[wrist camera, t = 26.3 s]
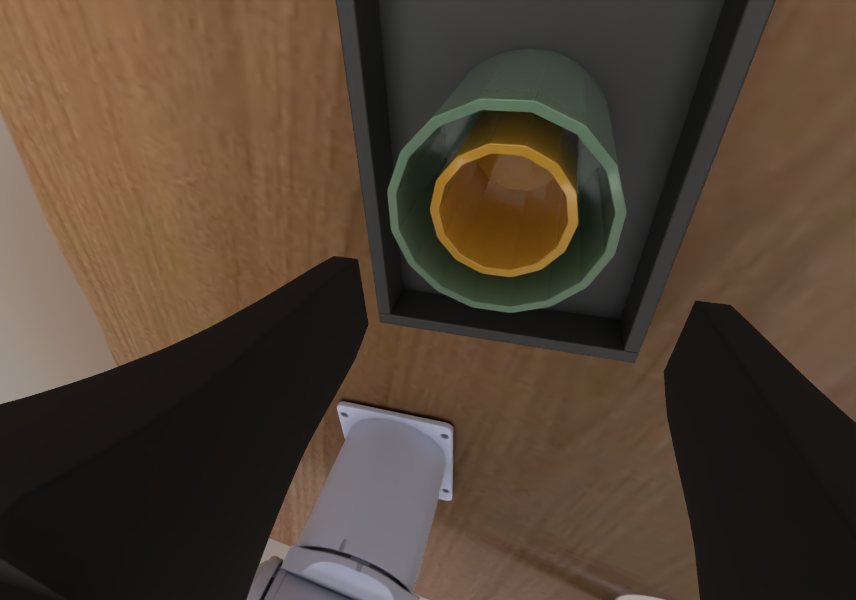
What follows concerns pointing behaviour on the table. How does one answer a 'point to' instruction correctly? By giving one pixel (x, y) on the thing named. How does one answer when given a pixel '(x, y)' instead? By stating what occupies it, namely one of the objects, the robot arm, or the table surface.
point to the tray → (631, 122)
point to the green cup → (598, 179)
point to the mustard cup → (509, 194)
